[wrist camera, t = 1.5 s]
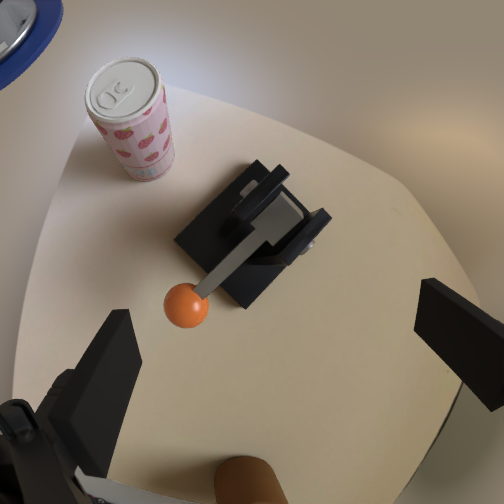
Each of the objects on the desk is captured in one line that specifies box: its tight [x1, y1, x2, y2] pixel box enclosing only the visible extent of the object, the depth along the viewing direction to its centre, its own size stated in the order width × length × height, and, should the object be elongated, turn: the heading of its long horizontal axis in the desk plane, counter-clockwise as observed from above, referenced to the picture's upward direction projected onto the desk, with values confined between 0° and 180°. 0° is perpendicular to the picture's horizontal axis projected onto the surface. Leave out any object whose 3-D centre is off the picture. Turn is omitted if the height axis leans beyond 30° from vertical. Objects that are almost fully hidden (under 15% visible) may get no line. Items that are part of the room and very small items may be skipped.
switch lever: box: [164, 191, 303, 328], centre depth 23 cm, size 13×4×4 cm, turn 136°
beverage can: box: [85, 57, 175, 181], centre depth 25 cm, size 6×6×15 cm
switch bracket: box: [174, 160, 332, 309], centre depth 27 cm, size 12×10×14 cm
